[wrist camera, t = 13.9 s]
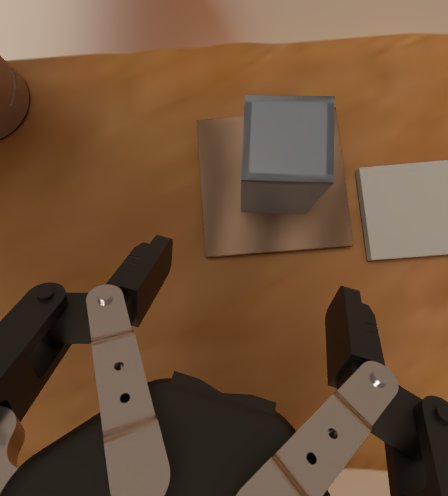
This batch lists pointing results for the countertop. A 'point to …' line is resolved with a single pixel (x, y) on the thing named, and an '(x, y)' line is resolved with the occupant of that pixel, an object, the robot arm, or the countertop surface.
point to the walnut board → (261, 224)
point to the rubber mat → (404, 209)
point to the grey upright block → (286, 152)
